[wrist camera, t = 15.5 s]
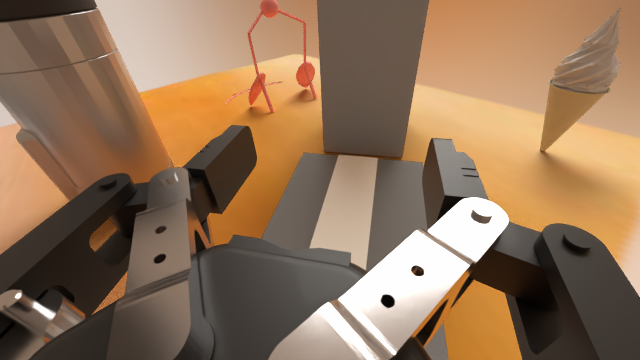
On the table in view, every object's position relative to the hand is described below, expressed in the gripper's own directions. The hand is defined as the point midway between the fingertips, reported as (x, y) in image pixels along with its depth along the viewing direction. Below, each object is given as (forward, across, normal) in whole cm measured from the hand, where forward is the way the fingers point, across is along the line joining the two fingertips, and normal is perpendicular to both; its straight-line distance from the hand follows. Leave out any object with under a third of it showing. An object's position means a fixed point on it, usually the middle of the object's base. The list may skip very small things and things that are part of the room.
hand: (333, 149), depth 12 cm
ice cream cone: (+23, -22, +13) cm, 34 cm away
